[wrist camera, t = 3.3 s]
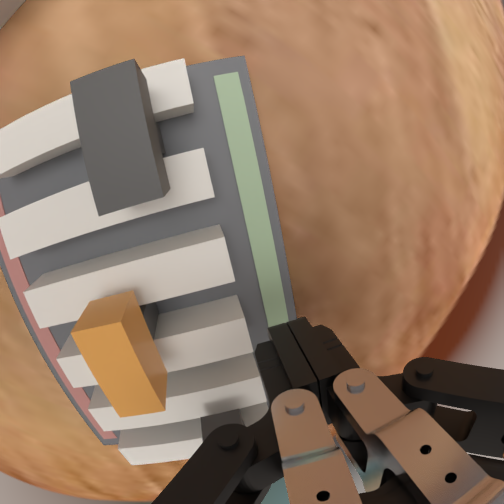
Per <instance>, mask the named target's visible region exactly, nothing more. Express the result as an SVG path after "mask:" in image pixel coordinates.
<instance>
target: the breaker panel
mask: <svg viewBox="0 0 504 504" xmlns="http://www.w3.org/2000/svg"><path fill="white" fill-rule="evenodd" d="M70 85H71V92H72V94H70V95H68V96H65V97H63V98H61V99H58V100H56V101H54V102H52V103H50V104H47V105H45V106H43V107H41V108H39V109H37V110H35V111H33V112H31V113H29V114H27V115H25V116H23V117H21V118H19V119H17V120H16V121H14V122H12V123H10V124H8V125H7V126H5V127H3V128H1V129H0V266H1V269H2V271H3V274H4V276H5V279H6V282H7V284H8V286H9V289H10V291H11V294H12V296H13V298H14V301H15V303H16V305H17V307H18V309H19V312H20V314H21V316H22V318H23V320H24V322H25V324H26V326H27V328H28V330H29V332H30V334H31V336H32V338H33V340H34V342H35V344H36V345H37V347H38V349H39V351H40V353H41V355H42V356H43V358H44V360H45V362H46V363H47V365H48V367H49V368H50V370H51V372H52V373H53V375H54V377H55V378H56V380H57V381H58V383H59V384H60V386H61V388H62V389H63V391H64V392H65V394H66V395H67V397H68V398H69V400H70V401H71V403H72V404H73V405H74V407H75V408H76V410H77V411H78V412H79V414H80V415H81V417H82V418H83V419H84V421H85V422H86V423H87V425H88V426H89V427H90V429H91V430H92V431H93V432H94V434H95V435H96V436H97V437H98V439H99V440H100V441H101V442H102V444H103V445H115V444H118V450H119V451H120V452H121V453H122V454H123V456H124V457H125V458H126V459H127V460H128V461H129V463H130V464H131V465H140V464H151V463H160V462H169V461H176V460H183V459H190V458H191V456H192V455H193V454H194V453H195V452H196V450H197V449H198V448H199V447H200V445H201V444H202V443H203V442H204V440H205V439H206V438H207V436H208V435H209V434H210V433H211V432H212V431H213V430H214V429H216V428H218V427H220V426H222V425H225V424H232V423H235V424H242V425H244V426H246V427H248V426H250V425H252V424H254V423H255V422H257V421H259V420H260V419H261V418H262V417H263V416H264V415H265V414H266V413H267V411H268V409H269V405H270V404H269V401H268V398H267V395H266V392H265V389H264V386H263V383H262V379H261V376H260V372H259V368H258V365H257V361H256V357H255V354H254V353H255V350H256V347H257V344H259V343H262V342H266V341H269V337H268V332H267V328H268V327H271V326H275V325H278V324H282V323H286V322H288V321H292V320H295V319H297V317H296V311H295V305H294V299H293V293H292V287H291V281H290V276H289V270H288V264H287V259H286V253H285V248H284V242H283V237H282V232H281V226H280V221H279V216H278V210H277V205H276V200H275V195H274V190H273V185H272V180H271V175H270V170H269V165H268V160H267V155H266V151H265V146H264V141H263V136H262V132H261V127H260V122H259V118H258V113H257V109H256V104H255V100H254V95H253V91H252V86H251V82H250V78H249V73H248V69H247V65H246V60H245V56H238V57H232V58H225V59H220V60H214V61H209V62H203V63H198V64H194V65H189V66H186V64H185V60H184V58H183V59H179V60H174V61H170V62H166V63H162V64H158V65H155V66H151V67H147V68H144V69H140V68H139V66H138V64H137V63H136V61H135V59H132V60H128V61H125V62H122V63H119V64H116V65H113V66H110V67H107V68H104V69H102V70H99V71H96V72H93V73H91V74H88V75H86V76H83V77H81V78H78V79H76V80H73V81H71V82H70ZM132 290H133V291H134V294H135V296H136V299H137V302H138V304H139V306H140V305H144V304H148V303H153V302H155V303H156V306H157V308H158V311H159V314H158V320H157V326H156V331H155V337H154V343H155V345H156V348H157V350H158V352H159V355H160V357H161V359H162V361H163V363H164V366H165V368H166V370H167V372H168V373H167V389H166V410H165V411H162V412H156V413H150V414H143V415H136V416H129V417H121V418H120V417H119V415H118V414H117V412H116V411H115V409H114V408H113V406H112V405H111V403H110V402H109V400H108V399H107V397H106V395H105V394H104V392H103V391H102V389H101V387H100V386H99V384H98V382H97V381H96V379H95V377H94V376H93V374H92V372H91V370H90V369H89V367H88V365H87V363H86V362H85V360H84V358H83V356H82V354H81V352H80V351H79V349H78V347H77V345H76V343H75V341H74V339H73V337H72V335H71V331H72V329H73V328H74V326H75V324H76V323H77V321H78V319H79V318H80V316H81V314H82V313H83V311H84V310H85V308H86V306H87V305H88V303H89V302H90V301H93V300H96V299H100V298H104V297H108V296H112V295H116V294H120V293H124V292H128V291H132Z"/></svg>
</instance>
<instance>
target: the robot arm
mask: <svg viewBox="0 0 504 504" xmlns="http://www.w3.org/2000/svg"><path fill="white" fill-rule="evenodd" d="M267 332H268V337H269V341H266V342H262V343H259V344H257V347H256V350H255V353H254V354H255V357H256V361H257V365H258V368H259V372H260V376H261V379H262V383H263V386H264V389H265V392H266V395H267V398H268V401H269V404H270V405H269V409H268V411H267V413H266V414H265V415H264V416H263V417H262V418H261V419H260V420H259V421H257V422H255V423H254V424H252V425H250V426H248V427H246V426H244V425H242V424H235V423H232V424H225V425H222V426H220V427H218V428H216V429H214V430H213V431H212V432H211V433H210V434H209V435H208V436H207V438H206V439H205V440H204V442H203V443H202V444H201V445H200V447H199V448H198V449H197V450H196V452H195V453H194V454H193V455H192V456H191V458H190V459H189V460H188V461H187V463H186V464H185V465H184V466H183V467H182V469H181V470H180V471H179V472H178V473H177V475H176V476H175V477H174V478H173V479H172V481H171V482H170V483H169V484H168V485H167V486H166V488H165V489H164V490H163V491H162V492H161V493H160V494H159V496H158V497H157V498H156V499H155V500H154V501H153V502H152V504H261V502H262V500H263V499H264V497H265V496H266V494H267V492H268V491H269V489H270V486H271V484H272V483H274V482H276V481H277V480H279V479H280V478H282V477H284V478H285V483H286V487H287V492H288V497H289V501H290V504H504V461H502V460H497V459H491V458H486V457H481V456H476V455H471V454H467V453H466V452H469V453H474V454H480V455H486V456H493V457H500V458H504V370H501V369H494V368H488V367H481V366H475V365H468V364H462V363H456V362H451V361H445V360H440V359H434V358H429V357H421V358H416V359H414V360H412V361H410V362H409V363H407V364H406V366H405V367H404V370H403V373H401V374H396V375H390V376H376V375H375V374H374V373H373V372H371V371H369V370H367V369H362V368H360V367H359V366H358V364H357V363H356V362H355V360H354V359H353V358H352V356H351V355H350V354H349V352H348V351H347V350H346V348H345V347H344V346H343V345H342V343H341V342H340V340H339V339H337V337H336V335H335V334H334V333H333V331H332V330H331V329H329V328H327V327H325V326H323V325H318V326H315V327H312V326H311V325H310V323H309V322H308V320H307V319H306V317H301V318H298V319H295V320H292V321H288V322H286V323H282V324H278V325H275V326H271V327H268V328H267ZM437 403H438V404H442V405H447V406H452V407H457V408H463V409H468V410H472V411H468V412H466V411H461V410H456V409H450V408H445V407H441V406H437ZM331 423H332V424H333V426H334V427H335V429H336V439H337V441H338V443H339V444H340V446H341V447H342V449H343V451H344V452H345V454H346V455H347V457H348V458H349V460H350V461H351V463H352V465H353V466H354V467H355V469H356V471H357V472H358V474H359V475H360V477H361V479H362V481H363V485H364V489H365V491H366V493H360V494H358V491H357V489H356V486H355V484H354V481H353V479H352V476H351V473H350V471H349V468H348V466H347V463H346V461H345V458H344V456H343V453H342V451H341V449H340V448H339V447H336V445H335V443H334V441H333V438H332V435H331V432H330V430H329V427H328V424H331Z"/></svg>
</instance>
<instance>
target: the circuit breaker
mask: <svg viewBox="0 0 504 504" xmlns="http://www.w3.org/2000/svg"><path fill="white" fill-rule="evenodd" d="M25 1H26V0H0V30H1V28H2V27H3V26H4V25H5V23H6V22H7V21H8V20H9V19H10V18H11V16H12V15H13V14H14V13H15V12H16V11H17V10H18V8H19V7H20V6H21V5H22V4H23V3H24V2H25Z"/></svg>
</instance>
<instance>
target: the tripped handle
mask: <svg viewBox="0 0 504 504" xmlns="http://www.w3.org/2000/svg"><path fill="white" fill-rule="evenodd" d="M158 314H159V311H158V308H157V306H156V303H155V302H153V303H148V304H144V305H140V306H139V304H138V302H137V299H136V296H135V294H134V291H133V290H132V291H128V292H124V293H120V294H116V295H112V296H108V297H104V298H100V299H96V300H93V301H90V302H89V303H88V305H87V306H86V308H85V310H84V311H83V313H82V314H81V316H80V318H79V319H78V321H77V323H76V324H75V326H74V328H73V329H72V331H71V335H72V337H73V339H74V341H75V343H76V345H77V347H78V349H79V351H80V352H81V354H82V356H83V358H84V360H85V362H86V363H87V365H88V367H89V369H90V370H91V372H92V374H93V376H94V377H95V379H96V381H97V382H98V384H99V386H100V387H101V389H102V391H103V392H104V394H105V395H106V397H107V399H108V400H109V402H110V403H111V405H112V406H113V408H114V409H115V411H116V412H117V414H118V415H119V417H120V418H121V417H129V416H136V415H143V414H150V413H156V412H162V411H165V410H166V389H167V373H168V372H167V370H166V368H165V366H164V363H163V361H162V359H161V357H160V355H159V352H158V350H157V348H156V345H155V343H154V337H155V331H156V326H157V320H158Z"/></svg>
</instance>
